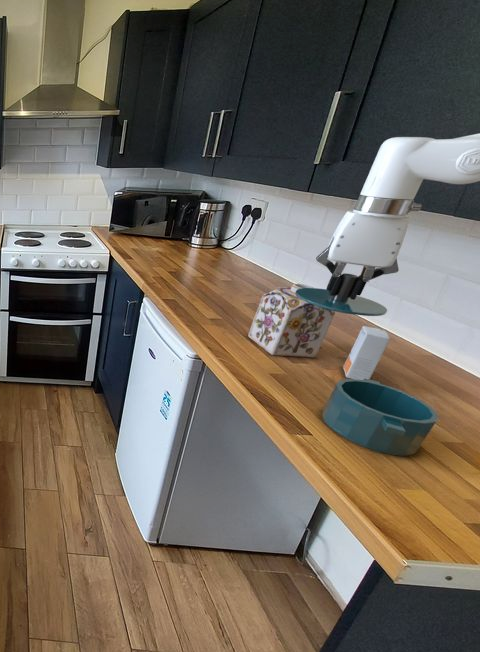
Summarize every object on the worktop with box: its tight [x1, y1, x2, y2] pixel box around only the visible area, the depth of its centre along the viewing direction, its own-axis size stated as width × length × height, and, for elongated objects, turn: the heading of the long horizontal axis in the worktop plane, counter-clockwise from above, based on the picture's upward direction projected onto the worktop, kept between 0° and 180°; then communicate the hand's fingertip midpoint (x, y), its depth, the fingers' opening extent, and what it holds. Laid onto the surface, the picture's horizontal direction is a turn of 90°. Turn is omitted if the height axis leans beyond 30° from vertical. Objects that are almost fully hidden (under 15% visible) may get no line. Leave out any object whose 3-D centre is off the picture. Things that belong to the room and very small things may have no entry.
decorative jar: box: [247, 283, 336, 358], centre depth 108 cm, size 12×12×18 cm
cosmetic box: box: [342, 325, 391, 380], centre depth 96 cm, size 6×4×12 cm
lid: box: [295, 272, 388, 317], centre depth 84 cm, size 15×15×7 cm
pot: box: [321, 378, 440, 457], centre depth 78 cm, size 14×19×8 cm
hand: (341, 295), depth 85 cm, fingers closed on lid, 2 cm apart
